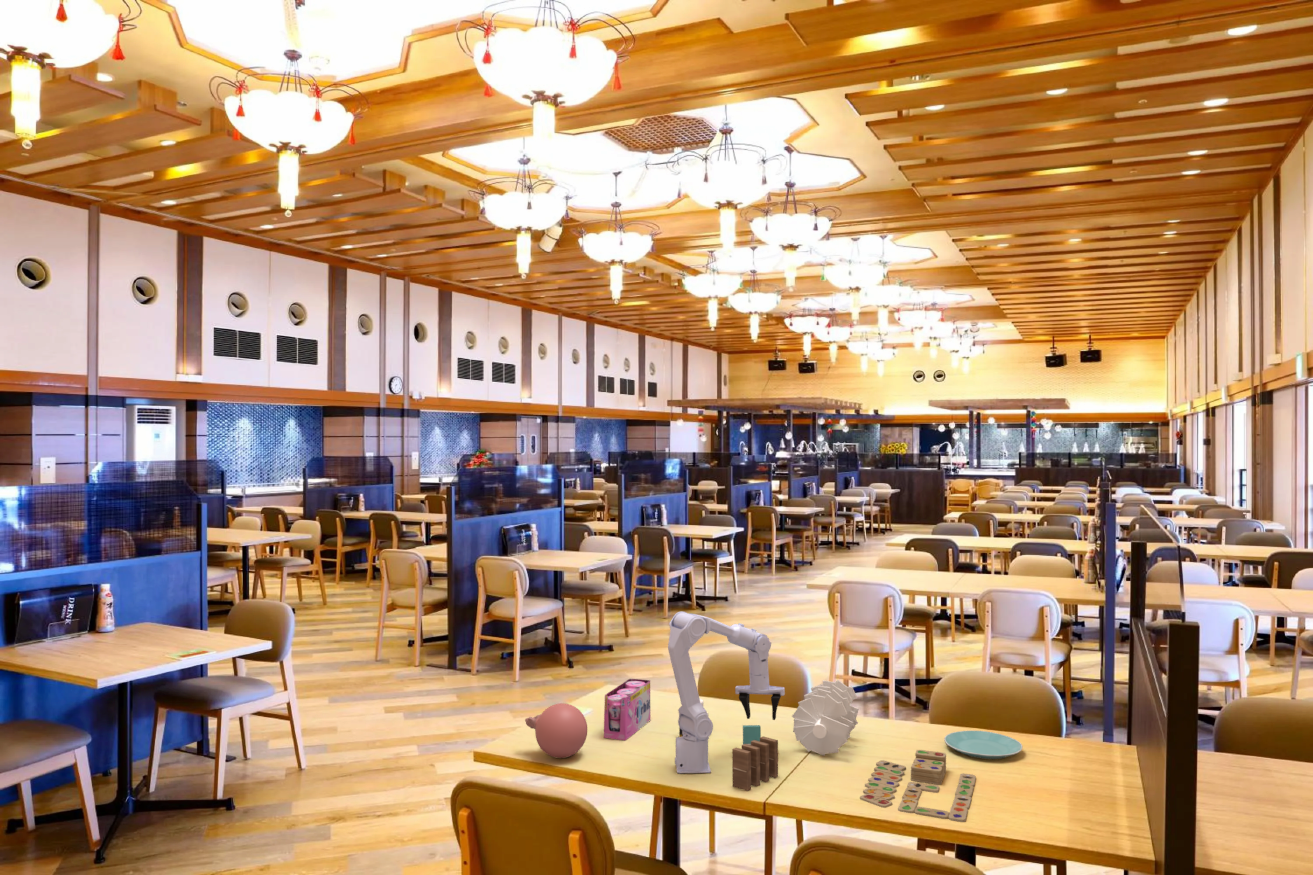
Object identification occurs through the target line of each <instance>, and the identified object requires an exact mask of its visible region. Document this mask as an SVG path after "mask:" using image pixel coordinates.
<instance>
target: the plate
mask: <svg viewBox="0 0 1313 875" xmlns="http://www.w3.org/2000/svg"><path fill="white" fill-rule="evenodd" d="M943 739H944V742H945V744H946V745H947V746H948V747H949V748H952V749H953V750H955V751H957V752H959V753H961V754H963V755H965V756H969V757H972V758H976V759H977V758H978V759H982V760H983V759H984V760H1001V759H1005V758H1008V757H1010V756H1014V755H1017V754H1019V753H1020V752H1021V751H1022V750H1023V744H1022V743H1021V742H1020V741H1019V740H1017V739H1015V738H1012V737H1010V736H1007V735H1004V734H1001V733H999V732H993V731H991V732H990V731H988V730H987V731H986V730H960V731H953V732H950V733H948V734H946V735H945V736H944V738H943Z"/></svg>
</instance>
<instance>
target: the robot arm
mask: <svg viewBox="0 0 1313 875" xmlns="http://www.w3.org/2000/svg"><path fill="white" fill-rule="evenodd" d="M668 625H669V629H670V630H669V636H668V637H669V638H668V644H667V649H668V654H669V658H670V662H671V668H672V671H673V676H674V679H675V683H676V687H677V692H678V696H679V699H680V704H681V706H680V707H679V708H678V709H677V711H678V720H677V723H678V728H679V727H680V729H681V730H682V734H683V736H682V737H679V736H677V737H675V757H674V764H675V768H676V772H677V774H701V773H702V774H704V773H705V774H708V773H709V774H710V773H712V770H711V766H710V763H709V739H710V736H711V735H712V733H713V730H714V723H713V721H712V720H711V718H710V717H708V715H707V713H708V712H707V710H706V709H705V707H704V705H703V706H702V704H701V703H700V699H701V698H700V694H699V691H698V686H697V682H696V679H695V675H694V669H693V666H692V661H691V657H690V653H689V651H690V649H691V648H692V647H693V646H694V645H695V644H696V643H697V642H698V641H699V640H701V638H702V637H703V636H704V635H707V634H709V633H710V632H713V633H715V634H719V635H721V636H724V637H726V638H727V642H729V644H733V645H736V646H738V647H741V648H744V649H745V650H747V652H748V653H747V654H748V655H747V656H748V670H749V685H748V684H747V685H736V686H735V690H734V691H735V695H738V699H739V702H740V703H741V705H742V707H743V710H744V712H745V715H746V720H749V719H750V718H751V707H750V697H751V696H750V695H772V696H771V697H770V701H771V708H772V709H771V710H772V713H771V714H772V716H771V717H772V720H773V721H775V720H776V718H777V710H778V706H779V703H780V699H781V698H782V696H785V694H786V692H785V691H786V690H785V687H784V686H775V685H770V676H769V675H770V674H769V656H770V655H769V652H770V650H771V649H772V648H771V647H772V642H771V641H770V638H769V636H768V635H766V634H764V633H760V632H757V630H756V629H755V628H748V627H745V624H744V623H740V622H738V624H737V623H734V624H732V625H728V624H725V623H724V622H721V621H718V620H716V619H713V618H711V617H708V616H706V615H705V616H704V615H700V614H696V613H688V612H686V611H678V612H676V613H675V614H674V615H673V617H672V618H671V620H670V622H669V623H668ZM699 698H700V699H699Z"/></svg>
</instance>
